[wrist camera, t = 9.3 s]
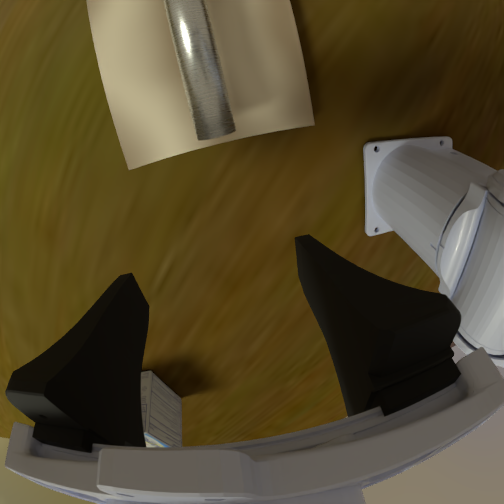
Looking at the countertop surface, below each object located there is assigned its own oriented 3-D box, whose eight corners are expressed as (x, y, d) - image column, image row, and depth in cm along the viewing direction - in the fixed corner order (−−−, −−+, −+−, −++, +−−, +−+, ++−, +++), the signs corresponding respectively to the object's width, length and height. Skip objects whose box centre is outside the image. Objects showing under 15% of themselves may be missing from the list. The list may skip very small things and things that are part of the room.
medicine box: (123, 373, 30) (113, 435, 22) (152, 368, 29) (146, 434, 22) (155, 401, 34) (152, 455, 27) (182, 397, 34) (183, 454, 26)
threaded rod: (183, -85, 5) (181, -100, 4) (234, 127, 14) (237, 132, 12) (149, -76, 5) (143, -90, 4) (198, 136, 14) (196, 142, 12)
